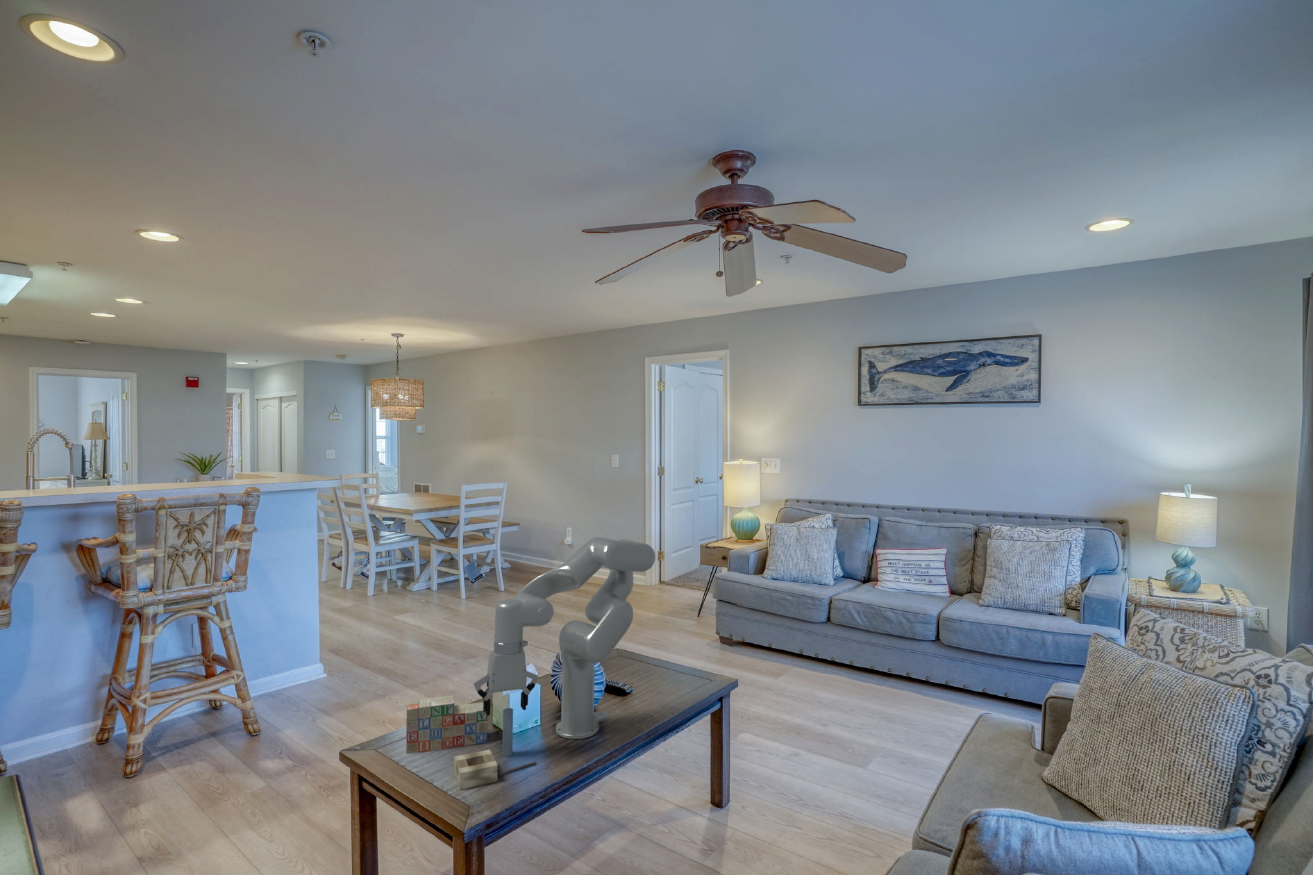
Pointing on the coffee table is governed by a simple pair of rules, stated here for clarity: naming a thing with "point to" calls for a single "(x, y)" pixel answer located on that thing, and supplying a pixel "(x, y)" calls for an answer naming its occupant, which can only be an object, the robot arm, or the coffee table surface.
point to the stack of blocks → (444, 724)
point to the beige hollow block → (475, 769)
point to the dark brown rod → (517, 768)
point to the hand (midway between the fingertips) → (505, 710)
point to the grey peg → (507, 732)
